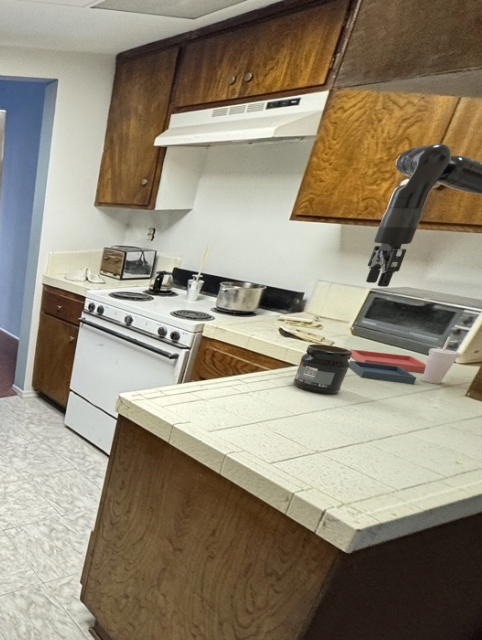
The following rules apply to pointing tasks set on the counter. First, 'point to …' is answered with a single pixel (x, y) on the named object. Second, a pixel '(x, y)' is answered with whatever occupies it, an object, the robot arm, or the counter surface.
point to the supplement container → (323, 368)
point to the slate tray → (382, 372)
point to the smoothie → (439, 363)
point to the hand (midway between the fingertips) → (376, 284)
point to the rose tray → (389, 360)
